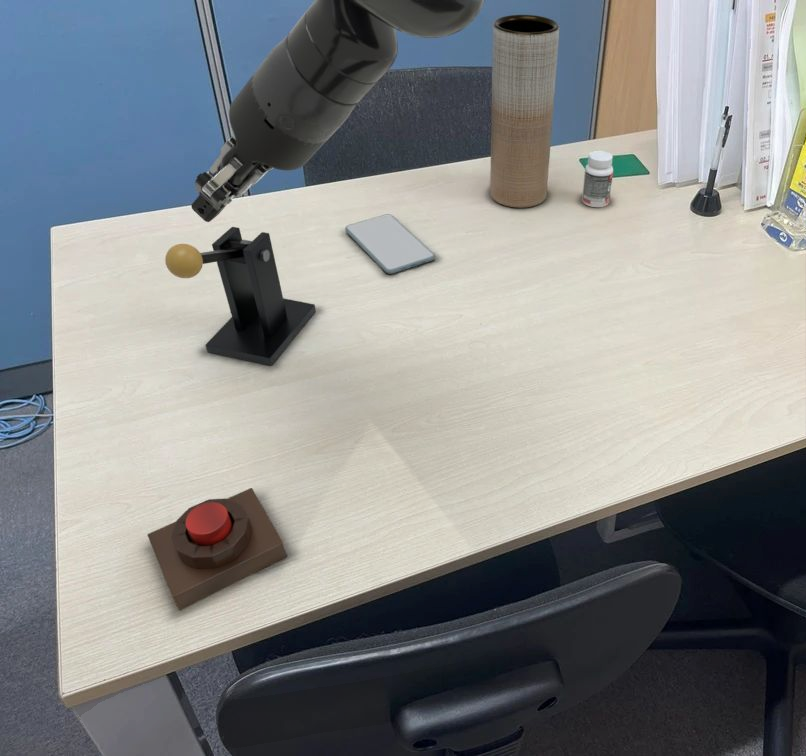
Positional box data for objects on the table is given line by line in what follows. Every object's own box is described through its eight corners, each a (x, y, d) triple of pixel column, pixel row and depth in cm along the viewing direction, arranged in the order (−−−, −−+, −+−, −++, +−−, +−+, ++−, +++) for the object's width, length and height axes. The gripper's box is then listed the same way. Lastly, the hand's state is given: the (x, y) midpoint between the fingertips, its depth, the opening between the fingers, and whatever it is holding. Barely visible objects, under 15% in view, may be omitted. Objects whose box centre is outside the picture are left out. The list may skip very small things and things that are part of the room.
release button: (197, 552, 62) (192, 540, 61) (185, 525, 65) (179, 513, 63) (237, 533, 64) (233, 522, 63) (224, 507, 66) (219, 495, 65)
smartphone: (387, 271, 102) (343, 225, 111) (388, 277, 103) (343, 231, 112) (437, 255, 106) (390, 212, 115) (437, 260, 106) (390, 217, 115)
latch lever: (188, 283, 72) (188, 248, 71) (157, 277, 73) (157, 242, 72) (263, 267, 86) (264, 238, 85) (237, 263, 86) (237, 233, 85)
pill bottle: (611, 207, 120) (618, 161, 115) (584, 208, 120) (590, 161, 114) (605, 194, 124) (611, 149, 118) (579, 195, 124) (584, 149, 118)
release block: (179, 611, 62) (166, 586, 59) (154, 547, 67) (140, 522, 64) (287, 556, 67) (279, 531, 64) (256, 501, 71) (247, 475, 69)
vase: (547, 184, 126) (560, 16, 108) (545, 210, 119) (558, 35, 101) (493, 180, 127) (496, 12, 108) (487, 206, 119) (489, 31, 101)
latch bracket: (271, 366, 87) (248, 271, 78) (207, 352, 89) (176, 258, 79) (316, 311, 96) (299, 220, 87) (256, 299, 97) (234, 209, 88)
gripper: (300, 42, 62) (210, 155, 72) (215, 92, 52) (126, 214, 63) (361, 110, 65) (266, 210, 75) (292, 169, 55) (194, 275, 65)
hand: (203, 212), depth 69 cm, fingers closed
